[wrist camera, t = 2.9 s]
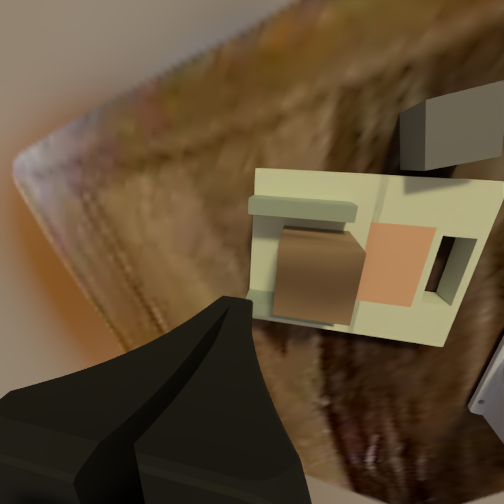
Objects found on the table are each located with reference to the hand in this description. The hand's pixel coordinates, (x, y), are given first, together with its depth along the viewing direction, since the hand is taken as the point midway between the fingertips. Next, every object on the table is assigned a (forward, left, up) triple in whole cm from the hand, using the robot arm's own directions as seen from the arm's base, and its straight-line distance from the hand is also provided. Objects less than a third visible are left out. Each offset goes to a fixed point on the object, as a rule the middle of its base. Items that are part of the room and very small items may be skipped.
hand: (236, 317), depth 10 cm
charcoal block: (+8, -10, -11) cm, 17 cm away
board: (0, -7, -10) cm, 12 cm away
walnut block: (0, -4, -8) cm, 9 cm away
